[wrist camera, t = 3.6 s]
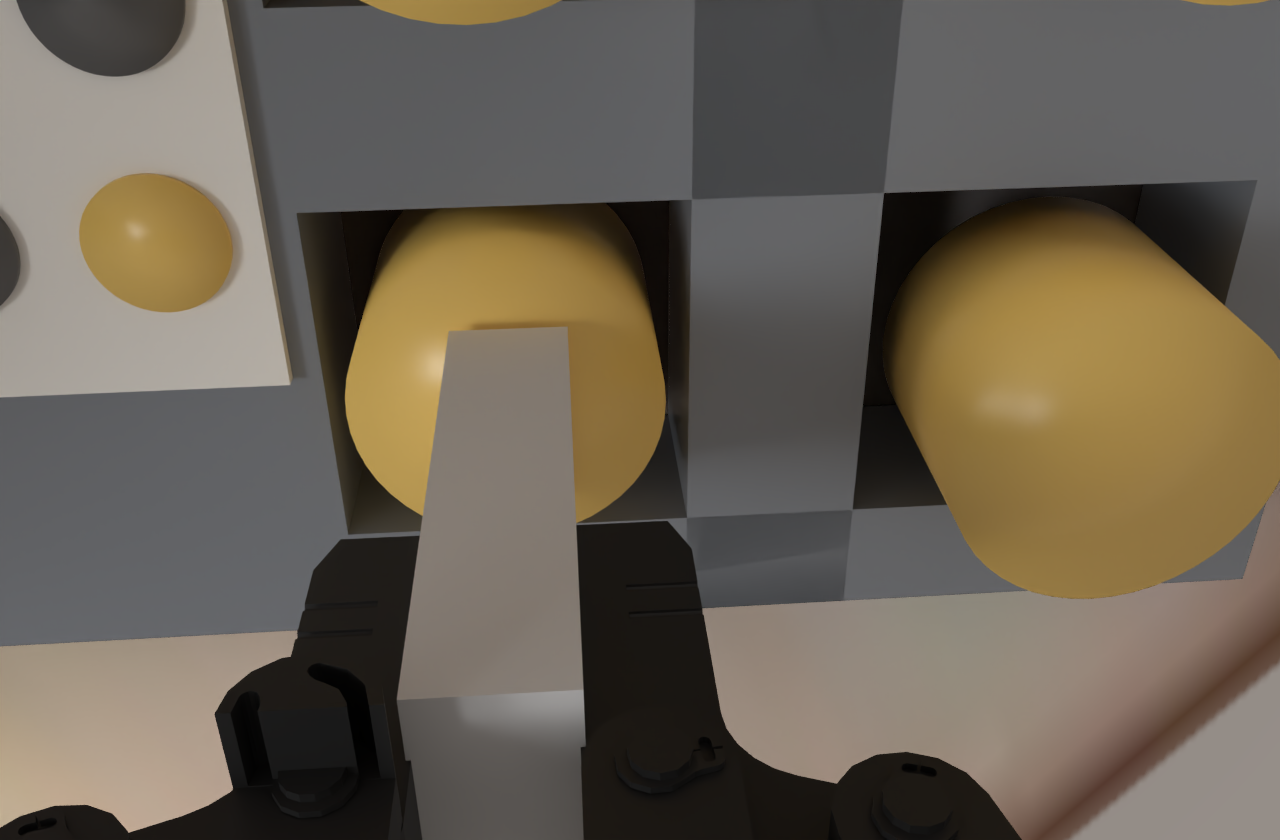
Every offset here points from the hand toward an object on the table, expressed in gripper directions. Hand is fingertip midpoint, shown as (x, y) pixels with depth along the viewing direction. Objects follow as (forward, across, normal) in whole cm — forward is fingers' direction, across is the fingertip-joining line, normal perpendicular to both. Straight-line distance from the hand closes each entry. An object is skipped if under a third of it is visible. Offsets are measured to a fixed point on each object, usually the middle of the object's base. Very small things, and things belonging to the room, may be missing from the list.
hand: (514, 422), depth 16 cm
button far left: (+4, 0, 0) cm, 4 cm away
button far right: (+2, +7, 0) cm, 8 cm away
